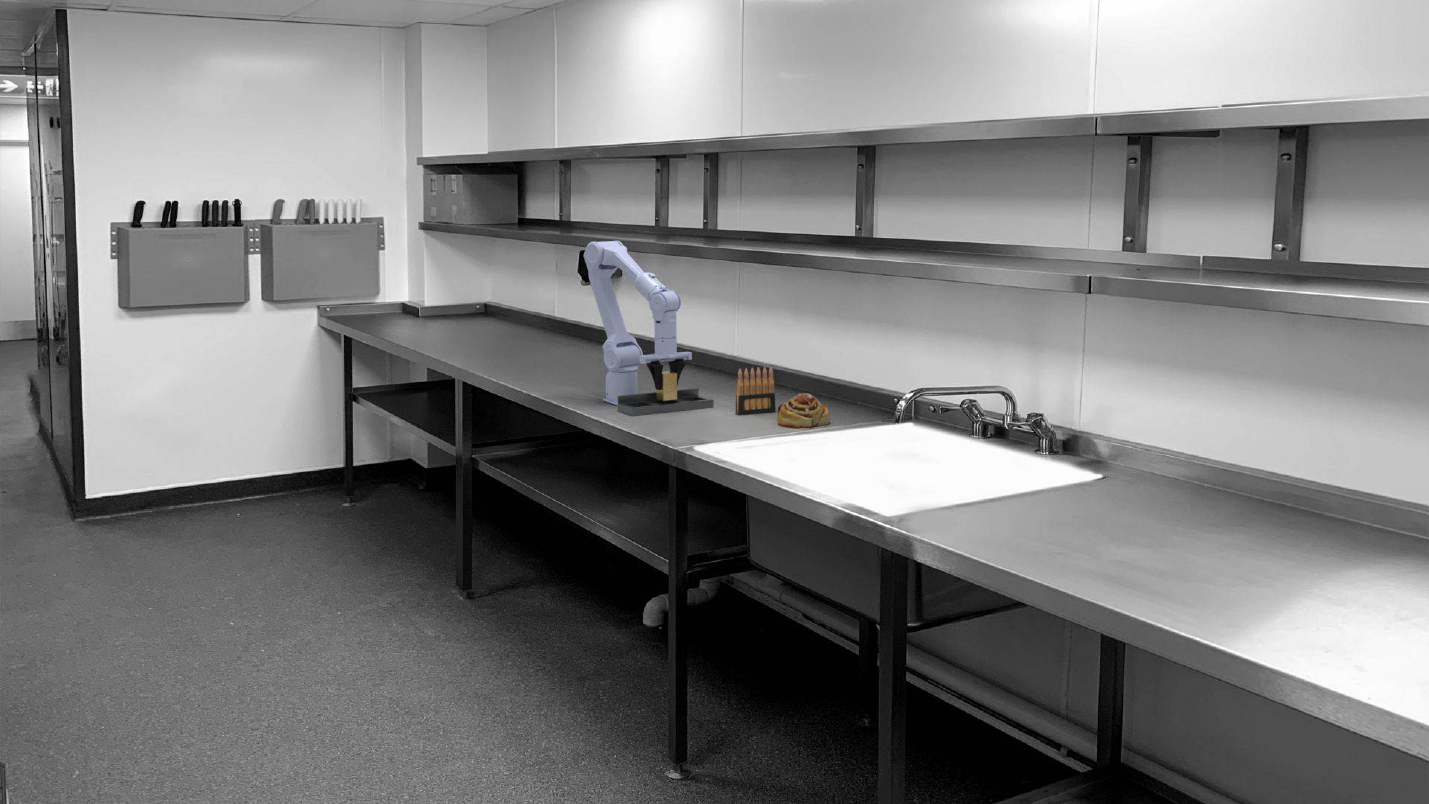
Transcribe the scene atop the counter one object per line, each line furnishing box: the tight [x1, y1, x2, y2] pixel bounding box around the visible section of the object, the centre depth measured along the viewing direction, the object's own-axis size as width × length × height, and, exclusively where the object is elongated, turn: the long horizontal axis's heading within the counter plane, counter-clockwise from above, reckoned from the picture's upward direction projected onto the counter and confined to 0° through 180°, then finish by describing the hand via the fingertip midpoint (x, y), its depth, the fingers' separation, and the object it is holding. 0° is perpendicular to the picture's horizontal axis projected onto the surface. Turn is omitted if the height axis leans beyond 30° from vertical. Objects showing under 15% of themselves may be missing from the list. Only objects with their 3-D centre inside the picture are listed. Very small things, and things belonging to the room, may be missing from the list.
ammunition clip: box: [735, 366, 777, 416], centre depth 309 cm, size 11×2×12 cm, turn 113°
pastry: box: [776, 392, 831, 429], centre depth 297 cm, size 13×15×8 cm
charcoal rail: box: [617, 387, 715, 417], centre depth 316 cm, size 9×24×4 cm, turn 120°
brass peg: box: [656, 370, 678, 401], centre depth 315 cm, size 4×4×7 cm
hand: (666, 388), depth 315 cm, fingers closed on brass peg, 4 cm apart
